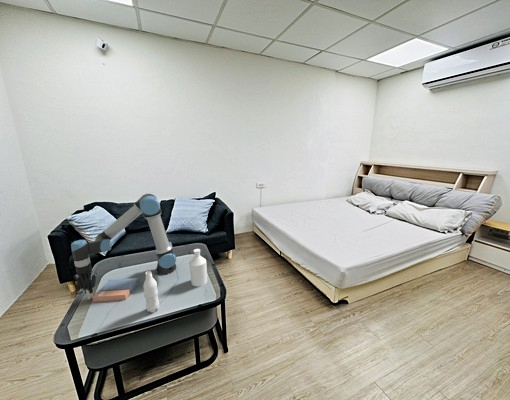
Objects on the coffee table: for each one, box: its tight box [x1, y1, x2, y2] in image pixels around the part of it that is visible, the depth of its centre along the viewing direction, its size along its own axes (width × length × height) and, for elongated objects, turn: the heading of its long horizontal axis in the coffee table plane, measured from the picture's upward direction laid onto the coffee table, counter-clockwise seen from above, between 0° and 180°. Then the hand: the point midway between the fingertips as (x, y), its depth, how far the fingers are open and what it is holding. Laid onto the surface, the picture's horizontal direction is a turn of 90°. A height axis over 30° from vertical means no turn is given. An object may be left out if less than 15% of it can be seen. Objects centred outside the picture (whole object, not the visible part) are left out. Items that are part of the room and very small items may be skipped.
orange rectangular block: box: [91, 289, 131, 303], centre depth 140 cm, size 20×6×4 cm, turn 95°
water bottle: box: [142, 270, 160, 314], centre depth 127 cm, size 7×7×25 cm
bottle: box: [188, 248, 208, 288], centre depth 154 cm, size 12×12×25 cm
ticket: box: [98, 277, 139, 294], centre depth 150 cm, size 20×12×4 cm, turn 95°
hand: (90, 297), depth 139 cm, fingers closed
